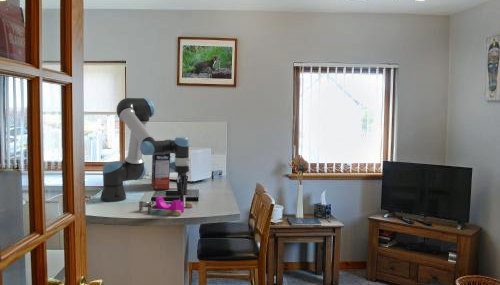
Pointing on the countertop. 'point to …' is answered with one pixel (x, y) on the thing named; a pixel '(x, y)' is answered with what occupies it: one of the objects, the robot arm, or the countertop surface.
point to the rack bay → (167, 212)
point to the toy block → (174, 206)
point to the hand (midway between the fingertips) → (182, 206)
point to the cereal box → (160, 171)
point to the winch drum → (145, 205)
